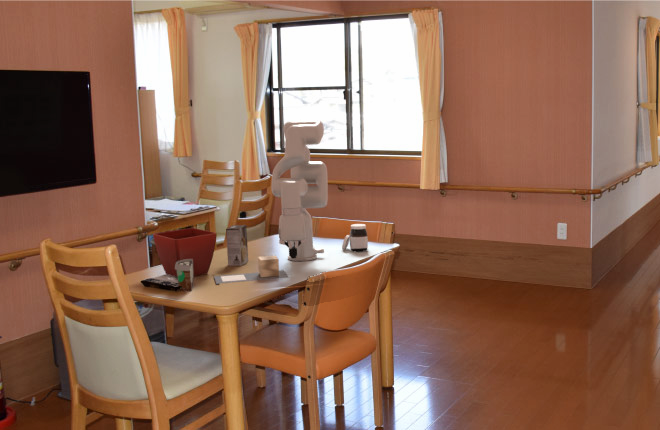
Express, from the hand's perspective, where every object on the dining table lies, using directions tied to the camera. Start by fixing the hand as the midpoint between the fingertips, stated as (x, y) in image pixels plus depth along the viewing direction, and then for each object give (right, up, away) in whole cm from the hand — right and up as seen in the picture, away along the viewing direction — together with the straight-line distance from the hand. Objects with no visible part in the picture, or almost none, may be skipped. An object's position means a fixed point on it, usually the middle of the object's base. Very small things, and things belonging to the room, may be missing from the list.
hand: (293, 257), depth 291 cm
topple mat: (-16, -8, -3) cm, 18 cm away
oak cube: (-9, -7, -1) cm, 12 cm away
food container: (-40, -11, -16) cm, 44 cm away
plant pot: (-43, -7, +8) cm, 45 cm away
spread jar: (+26, +1, +45) cm, 52 cm away
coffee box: (-25, -4, +24) cm, 35 cm away
